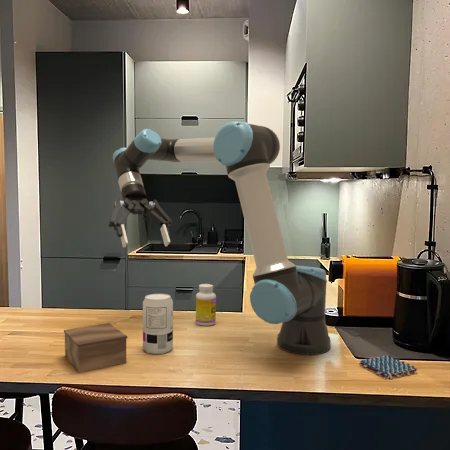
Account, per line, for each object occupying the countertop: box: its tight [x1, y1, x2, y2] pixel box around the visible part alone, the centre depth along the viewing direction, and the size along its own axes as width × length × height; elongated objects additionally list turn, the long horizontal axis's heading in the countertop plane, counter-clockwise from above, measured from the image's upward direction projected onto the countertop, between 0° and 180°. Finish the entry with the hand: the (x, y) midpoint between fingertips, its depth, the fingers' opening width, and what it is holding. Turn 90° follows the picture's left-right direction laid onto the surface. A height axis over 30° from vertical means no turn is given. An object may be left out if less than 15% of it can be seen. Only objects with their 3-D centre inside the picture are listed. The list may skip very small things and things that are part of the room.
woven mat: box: [358, 354, 418, 381], centre depth 116 cm, size 10×11×2 cm
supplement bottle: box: [195, 283, 217, 327], centre depth 152 cm, size 7×7×13 cm
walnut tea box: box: [63, 322, 128, 373], centre depth 120 cm, size 13×12×7 cm
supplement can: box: [142, 293, 174, 355], centre depth 127 cm, size 8×8×15 cm
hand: (147, 244), depth 139 cm, fingers open, 13 cm apart
